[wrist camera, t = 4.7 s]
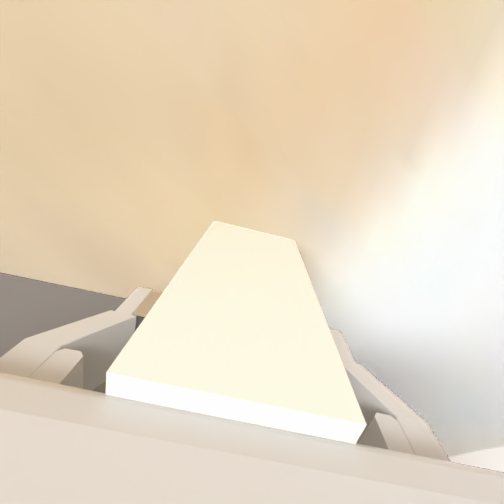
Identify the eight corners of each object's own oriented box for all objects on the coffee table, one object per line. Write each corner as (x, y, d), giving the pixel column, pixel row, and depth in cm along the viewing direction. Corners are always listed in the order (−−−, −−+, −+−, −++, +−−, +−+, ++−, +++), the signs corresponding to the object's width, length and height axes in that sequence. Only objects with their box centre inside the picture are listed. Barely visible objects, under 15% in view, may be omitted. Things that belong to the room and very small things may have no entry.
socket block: (193, 312, 18) (158, 401, 12) (166, 455, 24) (132, 570, 17) (-46, 263, 17) (-234, 330, 10) (-15, 425, 23) (-126, 536, 16)
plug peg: (294, 239, 14) (381, 465, 4) (272, 307, 15) (295, 593, 5) (213, 220, 13) (82, 406, 4) (200, 291, 15) (82, 558, 5)
